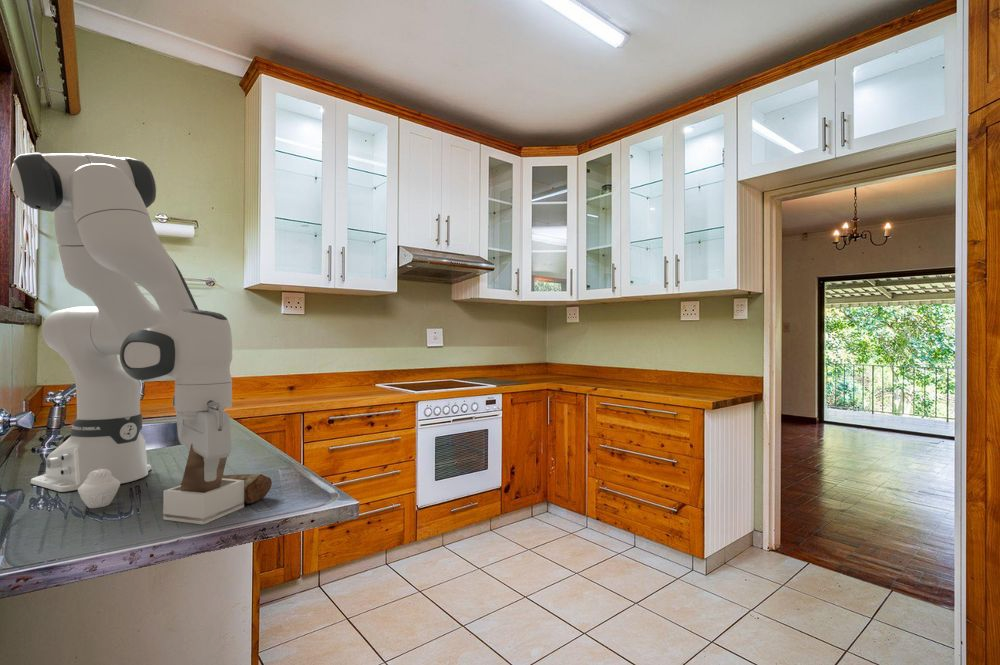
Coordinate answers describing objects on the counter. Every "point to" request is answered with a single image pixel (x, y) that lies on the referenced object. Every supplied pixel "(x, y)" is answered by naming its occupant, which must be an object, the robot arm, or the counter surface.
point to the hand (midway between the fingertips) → (203, 476)
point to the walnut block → (200, 474)
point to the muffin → (98, 488)
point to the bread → (252, 486)
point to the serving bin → (203, 502)
